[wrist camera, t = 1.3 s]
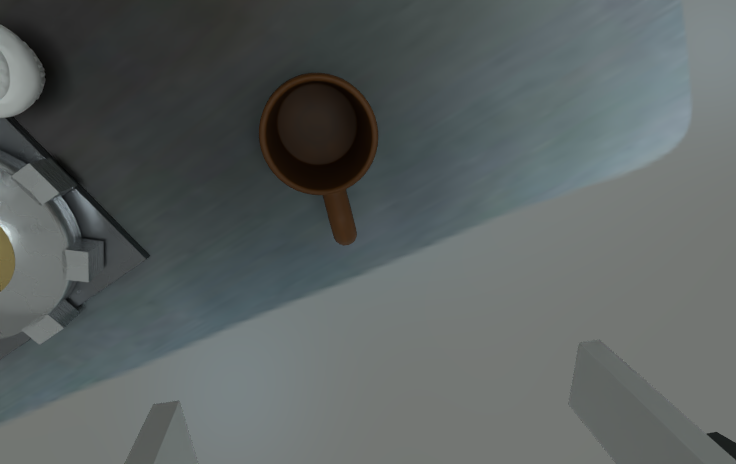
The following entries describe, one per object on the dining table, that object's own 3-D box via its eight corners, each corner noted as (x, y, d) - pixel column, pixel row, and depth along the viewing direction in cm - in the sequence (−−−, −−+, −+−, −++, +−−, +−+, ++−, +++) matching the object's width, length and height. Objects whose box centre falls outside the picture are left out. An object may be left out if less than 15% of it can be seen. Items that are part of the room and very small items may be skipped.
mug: (380, 204, 36) (403, 242, 27) (300, 225, 35) (297, 270, 27) (350, 66, 31) (366, 57, 23) (258, 88, 31) (238, 88, 22)
